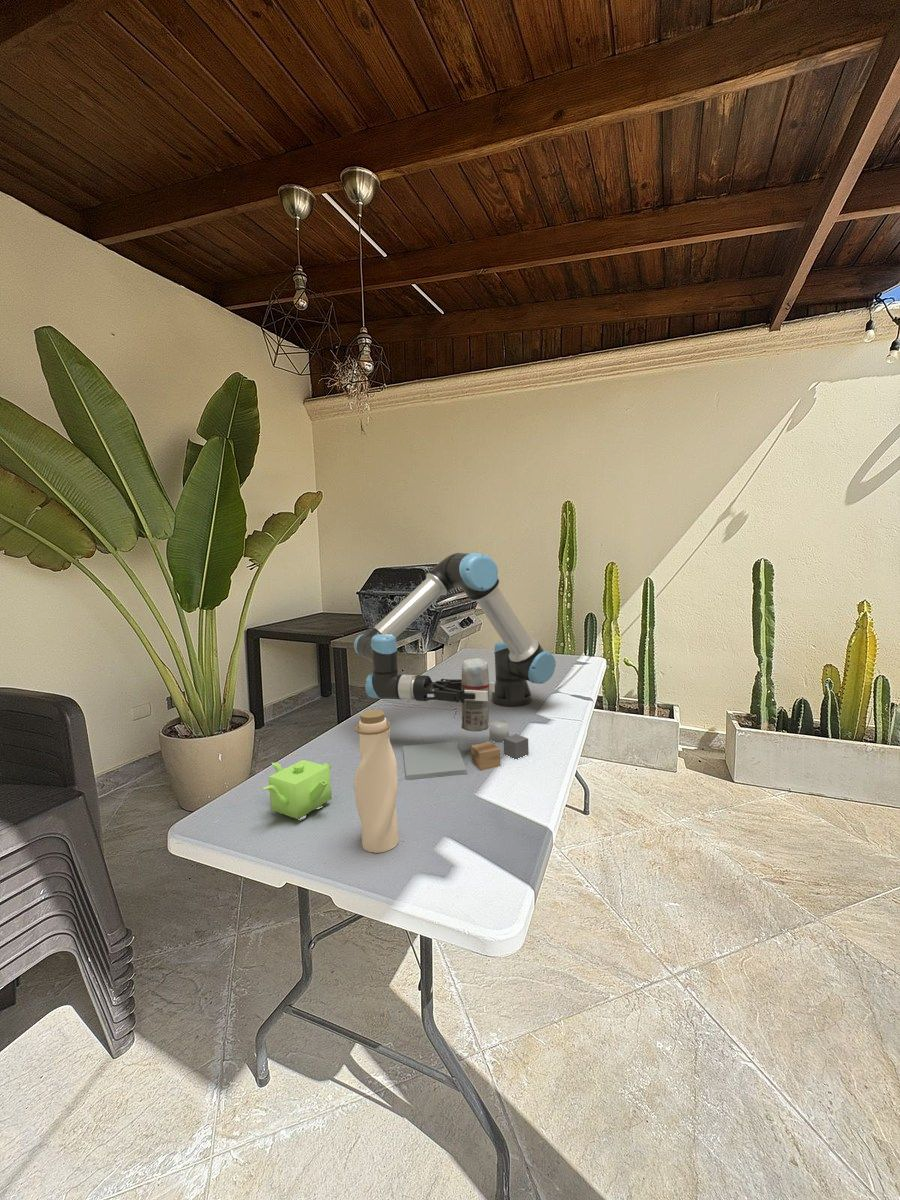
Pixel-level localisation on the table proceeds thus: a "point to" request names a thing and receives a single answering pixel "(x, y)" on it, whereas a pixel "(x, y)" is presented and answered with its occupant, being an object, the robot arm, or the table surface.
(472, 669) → the red-banded paper cylinder
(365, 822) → the water bottle
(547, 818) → the table surface
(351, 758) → the table surface
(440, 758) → the slate board
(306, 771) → the kettle
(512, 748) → the charcoal rubber cube
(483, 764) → the walnut block
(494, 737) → the white rounded cylinder
